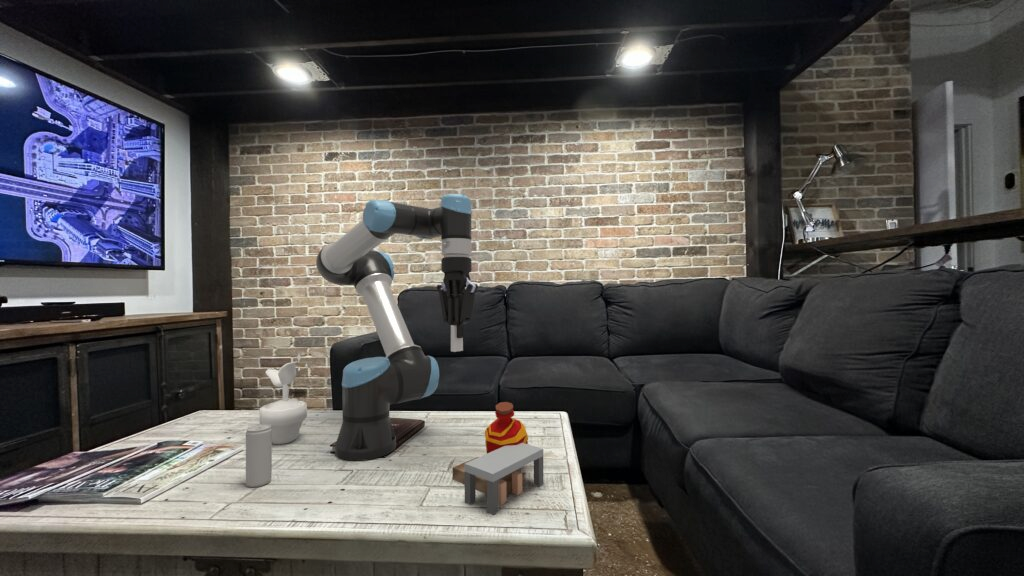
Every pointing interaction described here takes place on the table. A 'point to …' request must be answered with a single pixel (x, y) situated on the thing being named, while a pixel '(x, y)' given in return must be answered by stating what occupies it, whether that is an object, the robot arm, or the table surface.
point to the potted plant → (284, 406)
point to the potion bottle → (504, 429)
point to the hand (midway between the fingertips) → (456, 350)
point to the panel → (480, 482)
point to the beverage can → (258, 455)
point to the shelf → (502, 472)
